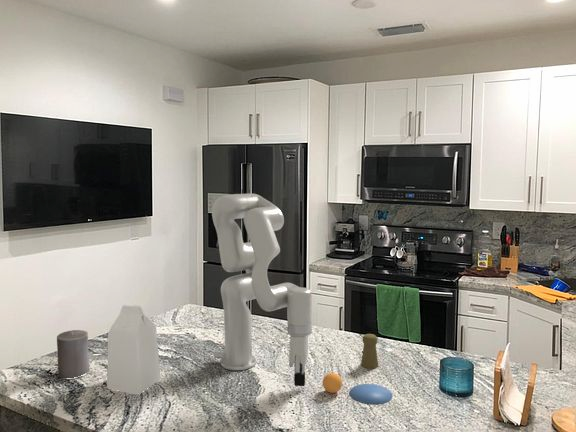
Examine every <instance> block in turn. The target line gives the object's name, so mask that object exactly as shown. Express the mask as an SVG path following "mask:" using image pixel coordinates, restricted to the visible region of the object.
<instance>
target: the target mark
mask: <svg viewBox="0 0 576 432" xmlns="http://www.w3.org/2000/svg"><path fill="white" fill-rule="evenodd" d="M349 396H350V397H351V398H352V399H354V401H357V402H359V403H362V404H367V405H380V404H385V403H388V402H390V401H391V400H392V398H393V392H392V391H391V390H390V389H389V388H386V387H384V386H382V385H378V384H372V383H362V384H357V385H354V386H353V387H351V388H350V390H349Z"/></svg>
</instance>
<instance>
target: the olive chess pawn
mask: <svg viewBox="0 0 576 432" xmlns="http://www.w3.org/2000/svg"><path fill="white" fill-rule="evenodd" d="M362 344H363V349H362V355H361V362H360V367H362V368H364V369H368V370H370V369H371V370H373V369H377V368H378V367H379V360H378V352H377V344H378V337H377V335H375V334H372V333H365V334H364V335H363V336H362Z"/></svg>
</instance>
